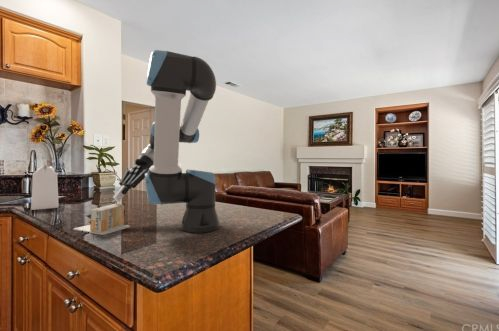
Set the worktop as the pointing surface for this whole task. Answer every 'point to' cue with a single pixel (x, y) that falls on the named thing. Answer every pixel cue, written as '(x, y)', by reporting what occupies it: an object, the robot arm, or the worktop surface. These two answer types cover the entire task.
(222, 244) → the worktop surface
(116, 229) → the mat
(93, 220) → the supplement box
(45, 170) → the milk
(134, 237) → the worktop surface
